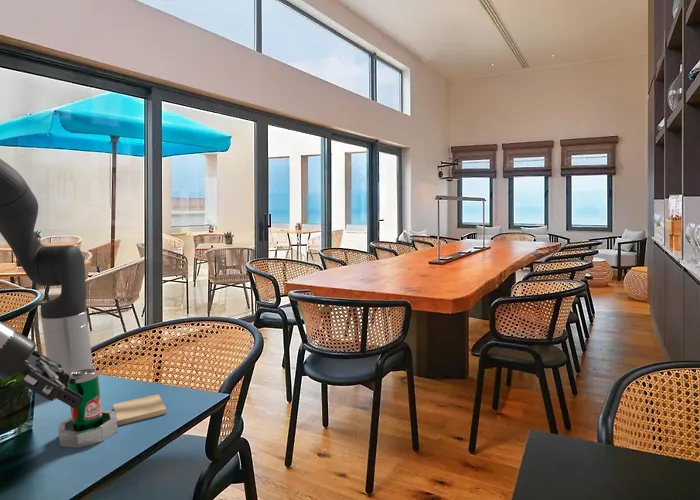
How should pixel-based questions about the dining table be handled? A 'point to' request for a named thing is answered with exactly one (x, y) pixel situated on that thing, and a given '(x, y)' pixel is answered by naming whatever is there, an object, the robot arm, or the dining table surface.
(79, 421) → the soda can
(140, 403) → the board
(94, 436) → the ring
